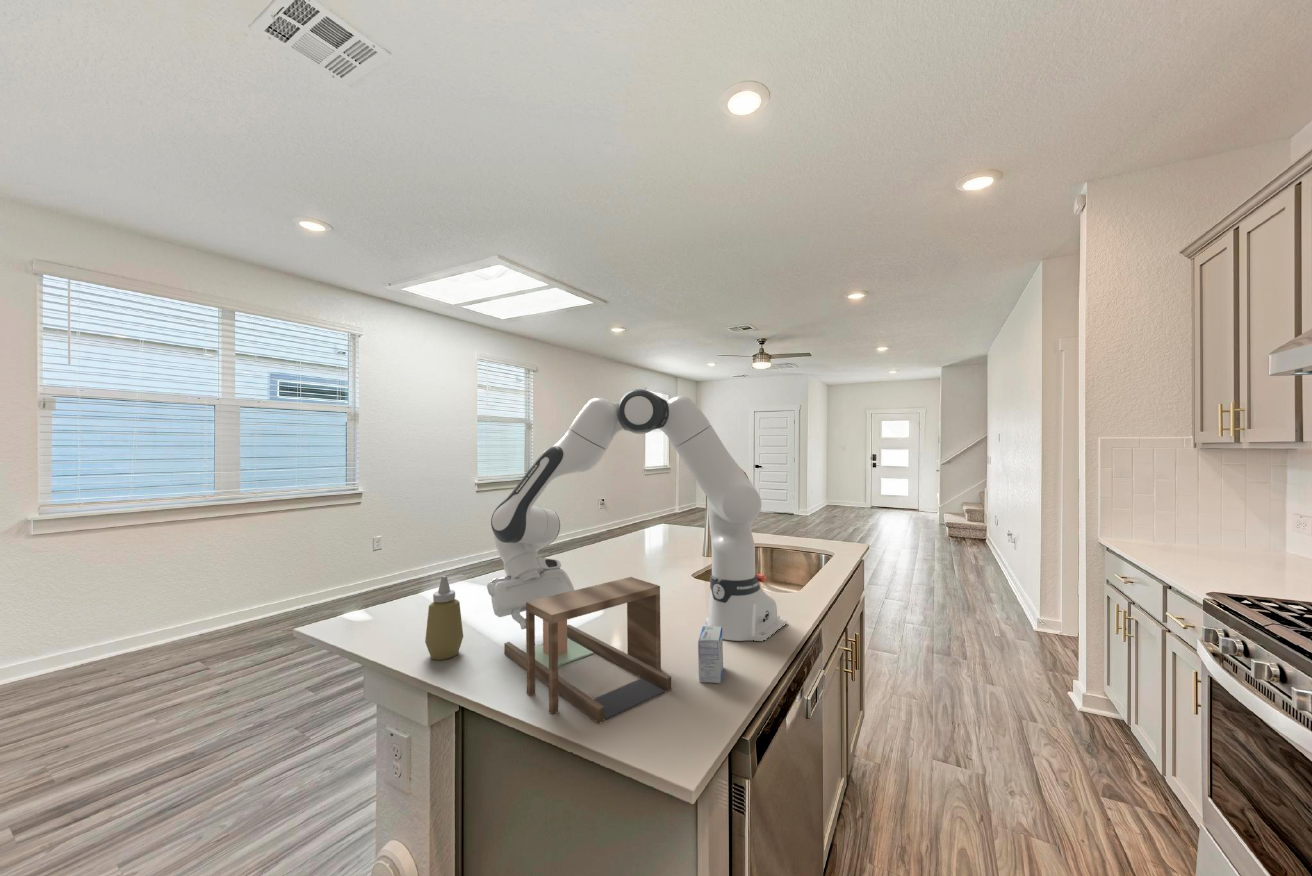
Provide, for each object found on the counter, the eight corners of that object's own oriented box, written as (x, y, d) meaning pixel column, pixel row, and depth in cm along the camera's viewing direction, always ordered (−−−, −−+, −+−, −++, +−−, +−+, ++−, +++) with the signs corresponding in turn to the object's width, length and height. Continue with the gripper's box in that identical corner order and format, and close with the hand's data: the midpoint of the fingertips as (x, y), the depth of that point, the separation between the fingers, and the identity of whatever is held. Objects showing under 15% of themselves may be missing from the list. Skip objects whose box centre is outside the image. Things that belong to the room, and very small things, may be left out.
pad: (566, 638, 120) (566, 637, 120) (593, 654, 111) (593, 652, 111) (516, 654, 112) (516, 652, 112) (542, 672, 103) (542, 670, 103)
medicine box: (720, 684, 97) (720, 640, 97) (698, 682, 97) (697, 639, 98) (723, 666, 104) (722, 626, 104) (702, 665, 105) (702, 625, 105)
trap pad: (642, 679, 99) (642, 678, 99) (665, 692, 94) (665, 690, 94) (584, 704, 90) (584, 702, 90) (606, 720, 84) (606, 718, 84)
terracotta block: (558, 647, 114) (558, 613, 114) (567, 652, 111) (567, 617, 112) (543, 652, 112) (542, 617, 112) (551, 657, 109) (551, 621, 109)
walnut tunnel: (583, 629, 126) (583, 561, 126) (687, 682, 98) (686, 594, 98) (485, 659, 109) (485, 581, 109) (576, 734, 80) (575, 627, 81)
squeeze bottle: (471, 651, 114) (470, 574, 114) (442, 665, 106) (442, 583, 107) (446, 645, 117) (445, 570, 117) (417, 659, 110) (416, 579, 110)
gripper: (488, 573, 114) (506, 626, 106) (564, 559, 127) (585, 605, 120) (481, 588, 117) (498, 641, 109) (556, 573, 130) (576, 619, 123)
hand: (544, 622), depth 115 cm, fingers open, 8 cm apart
